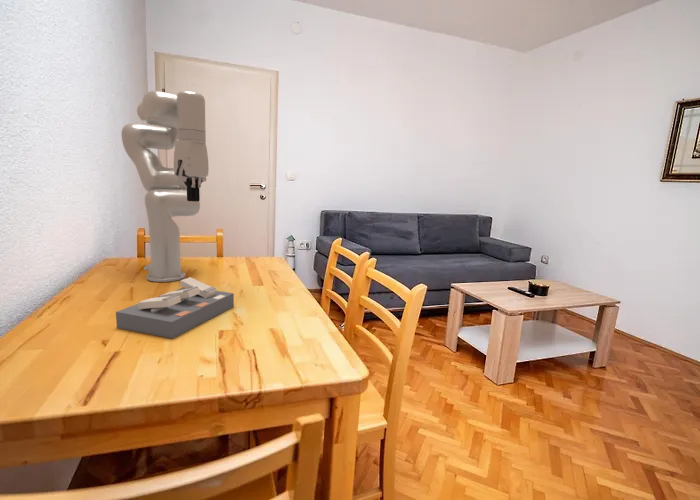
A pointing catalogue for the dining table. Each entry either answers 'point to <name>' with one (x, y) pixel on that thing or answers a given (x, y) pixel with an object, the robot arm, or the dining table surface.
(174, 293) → the rocker
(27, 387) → the dining table surface
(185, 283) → the rocker
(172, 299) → the rocker
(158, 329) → the switch unit
